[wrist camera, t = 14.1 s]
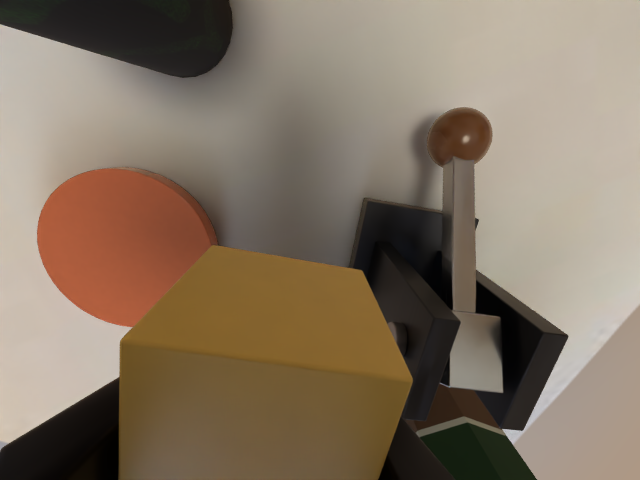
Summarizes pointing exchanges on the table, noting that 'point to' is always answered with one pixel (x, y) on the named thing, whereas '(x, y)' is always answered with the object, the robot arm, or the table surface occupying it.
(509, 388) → the lever switch
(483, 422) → the beer bottle
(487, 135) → the lever handle
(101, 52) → the cup
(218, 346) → the butter
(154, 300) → the red flat disc
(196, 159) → the table surface
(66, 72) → the table surface
